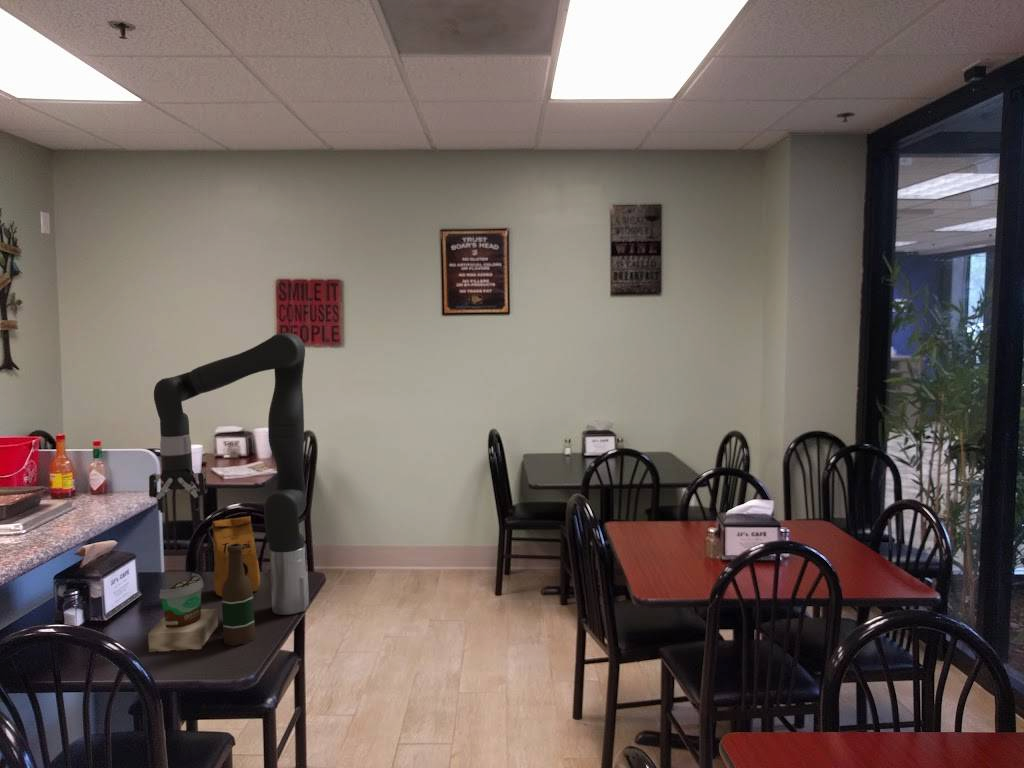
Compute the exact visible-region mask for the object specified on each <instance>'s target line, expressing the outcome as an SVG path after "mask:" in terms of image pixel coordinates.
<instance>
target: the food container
mask: <svg viewBox="0 0 1024 768" xmlns="http://www.w3.org/2000/svg"><path fill="white" fill-rule="evenodd" d="M204 585H205V583H204V580H203V578H202V576H201V575H200V574H198V573H193V572H192V573H191V577H189V578H187V579H185V580H182V581H180V582H177V583H175V584H174V585H172V586H171V587H169V589H160V591H159V600H160V599H161V604H162V611H163V615H164V616H165V622H166V628H176V627H182V626H186V625H190V624H192V623H195V622H196V621H198V620H199V619H200V618H201V610H202V589H203V588H204V587H205V586H204Z"/></svg>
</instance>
